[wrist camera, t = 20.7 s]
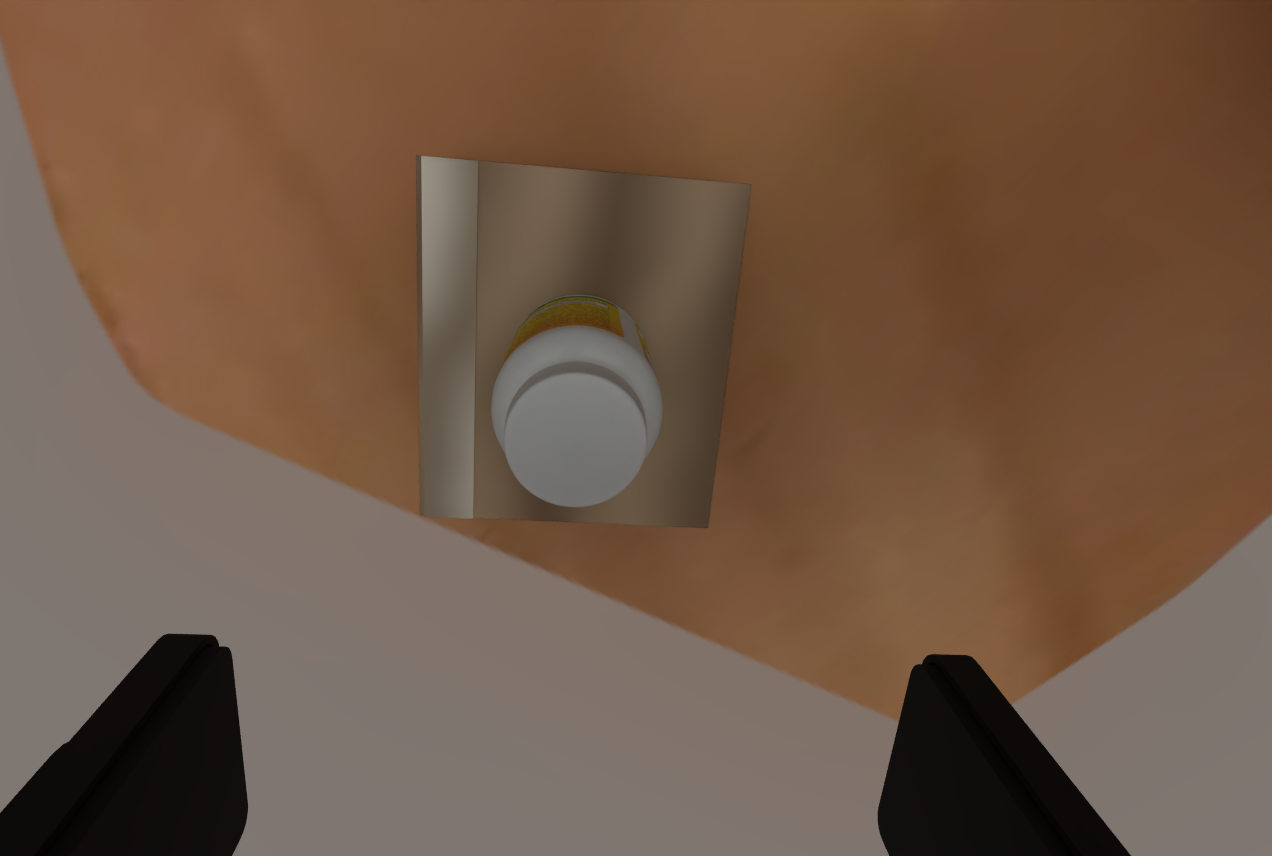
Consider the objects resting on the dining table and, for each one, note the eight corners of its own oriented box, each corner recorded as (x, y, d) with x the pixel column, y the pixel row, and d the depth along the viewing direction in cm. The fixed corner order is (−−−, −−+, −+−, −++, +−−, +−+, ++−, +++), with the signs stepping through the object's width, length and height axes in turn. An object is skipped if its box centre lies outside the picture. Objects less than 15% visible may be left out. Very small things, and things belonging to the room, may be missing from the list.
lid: (748, 184, 29) (751, 184, 28) (706, 523, 33) (708, 529, 33) (418, 155, 28) (415, 155, 27) (422, 510, 32) (419, 516, 32)
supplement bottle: (674, 356, 30) (714, 439, 21) (582, 448, 31) (583, 565, 22) (574, 261, 29) (570, 307, 20) (481, 362, 30) (437, 449, 21)
